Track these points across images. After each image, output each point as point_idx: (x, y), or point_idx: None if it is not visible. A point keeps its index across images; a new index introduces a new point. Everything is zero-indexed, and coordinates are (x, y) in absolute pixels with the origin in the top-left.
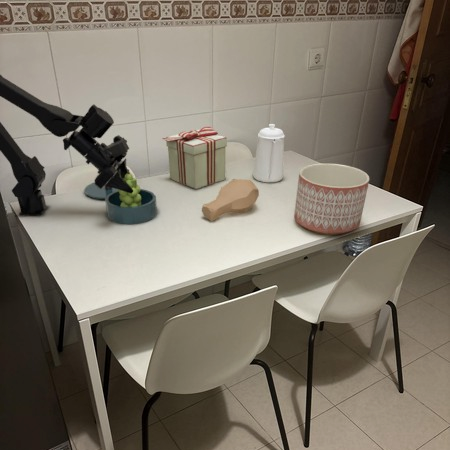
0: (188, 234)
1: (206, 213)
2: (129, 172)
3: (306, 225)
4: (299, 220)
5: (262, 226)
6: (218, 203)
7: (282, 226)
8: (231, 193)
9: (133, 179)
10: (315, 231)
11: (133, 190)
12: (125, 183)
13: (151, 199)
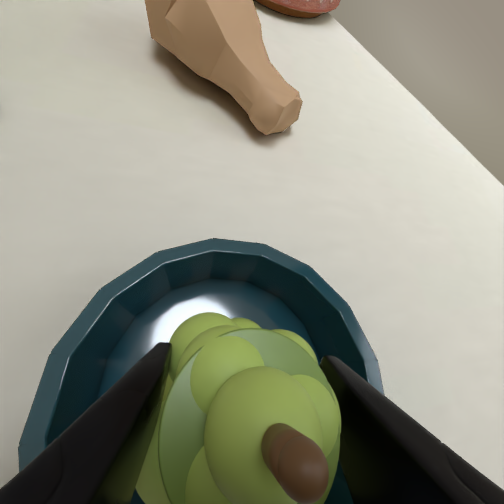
0: (365, 191)
1: (283, 120)
2: (42, 459)
3: (327, 6)
4: (313, 3)
5: (302, 60)
6: (271, 67)
7: (299, 38)
8: (248, 10)
9: (257, 355)
10: (319, 13)
11: (315, 355)
12: (434, 439)
13: (175, 274)
